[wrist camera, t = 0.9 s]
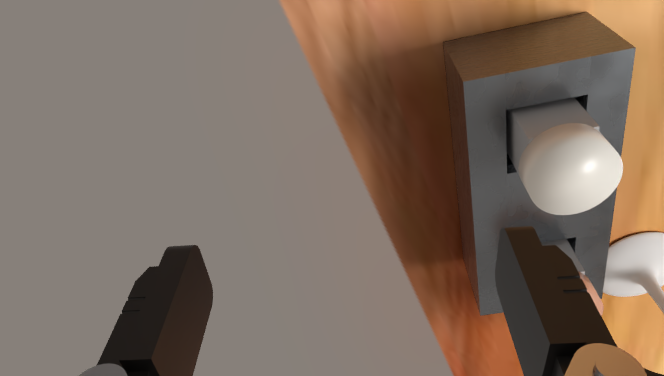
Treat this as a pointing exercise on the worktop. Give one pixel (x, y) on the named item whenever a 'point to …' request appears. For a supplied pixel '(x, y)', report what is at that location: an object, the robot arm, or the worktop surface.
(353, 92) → the worktop surface
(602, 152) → the white ball knob
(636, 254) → the wineglass
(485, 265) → the plunger panel
